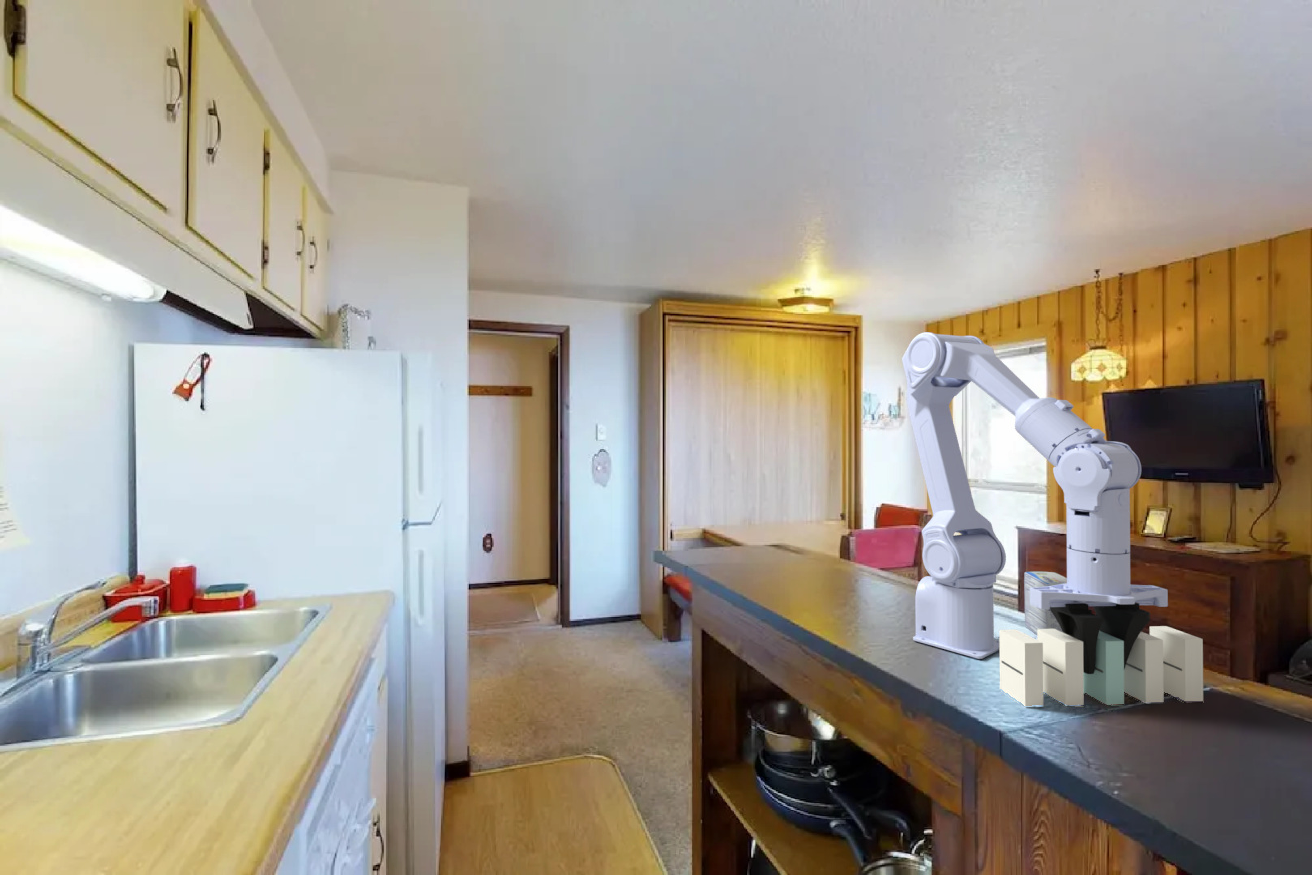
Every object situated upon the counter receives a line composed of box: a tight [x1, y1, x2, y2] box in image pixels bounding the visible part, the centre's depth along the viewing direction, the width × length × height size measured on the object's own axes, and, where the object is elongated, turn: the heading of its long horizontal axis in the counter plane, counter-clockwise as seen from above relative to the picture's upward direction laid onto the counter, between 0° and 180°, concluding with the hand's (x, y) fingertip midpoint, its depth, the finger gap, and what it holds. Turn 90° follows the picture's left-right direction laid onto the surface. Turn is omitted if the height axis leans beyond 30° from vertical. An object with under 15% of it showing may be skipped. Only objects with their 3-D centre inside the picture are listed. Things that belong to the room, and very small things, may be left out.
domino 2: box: [1036, 629, 1085, 706], centre depth 66 cm, size 2×4×7 cm, turn 2°
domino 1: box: [998, 629, 1044, 706], centre depth 66 cm, size 2×4×7 cm, turn 2°
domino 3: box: [1083, 630, 1125, 706], centre depth 66 cm, size 2×4×7 cm, turn 2°
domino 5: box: [1149, 625, 1204, 702], centre depth 66 cm, size 2×4×7 cm, turn 2°
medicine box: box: [1023, 571, 1067, 635], centre depth 86 cm, size 8×4×9 cm, turn 168°
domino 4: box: [1124, 631, 1165, 703], centre depth 66 cm, size 2×4×7 cm, turn 2°
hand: (1098, 670), depth 66 cm, fingers open, 3 cm apart
